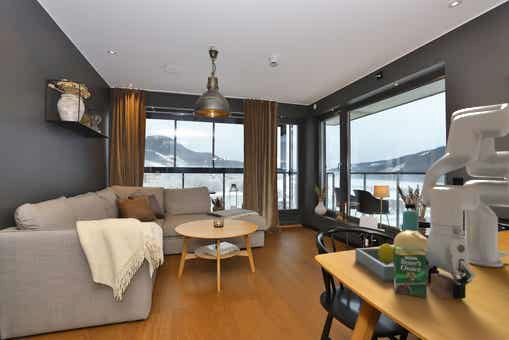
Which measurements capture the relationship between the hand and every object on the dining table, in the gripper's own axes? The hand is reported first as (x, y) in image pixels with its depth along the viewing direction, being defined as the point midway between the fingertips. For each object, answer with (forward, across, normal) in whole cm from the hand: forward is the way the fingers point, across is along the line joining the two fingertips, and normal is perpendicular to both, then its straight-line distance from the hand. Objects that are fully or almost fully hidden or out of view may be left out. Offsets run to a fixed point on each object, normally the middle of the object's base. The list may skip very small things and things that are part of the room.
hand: (445, 290), depth 74 cm
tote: (+1, +18, +5) cm, 19 cm away
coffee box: (+1, +1, +10) cm, 10 cm away
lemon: (0, +20, +5) cm, 21 cm away
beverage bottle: (+1, +42, -21) cm, 47 cm away
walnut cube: (+1, 0, 0) cm, 1 cm away
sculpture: (+1, +30, -12) cm, 32 cm away
